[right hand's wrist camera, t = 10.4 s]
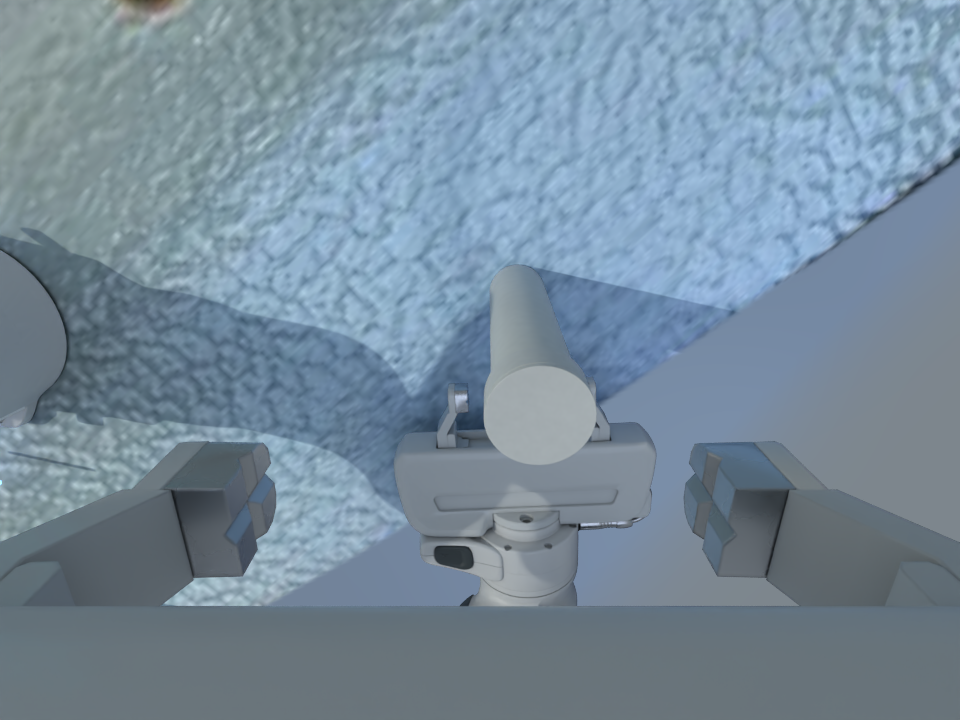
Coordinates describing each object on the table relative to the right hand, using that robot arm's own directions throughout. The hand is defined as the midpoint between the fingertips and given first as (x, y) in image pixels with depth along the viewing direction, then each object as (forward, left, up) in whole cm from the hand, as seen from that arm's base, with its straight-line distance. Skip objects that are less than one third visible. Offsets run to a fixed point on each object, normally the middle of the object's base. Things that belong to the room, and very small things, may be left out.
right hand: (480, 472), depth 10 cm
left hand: (+4, +11, -28) cm, 30 cm away
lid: (+1, +6, -12) cm, 14 cm away
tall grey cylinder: (+1, +6, -32) cm, 33 cm away
